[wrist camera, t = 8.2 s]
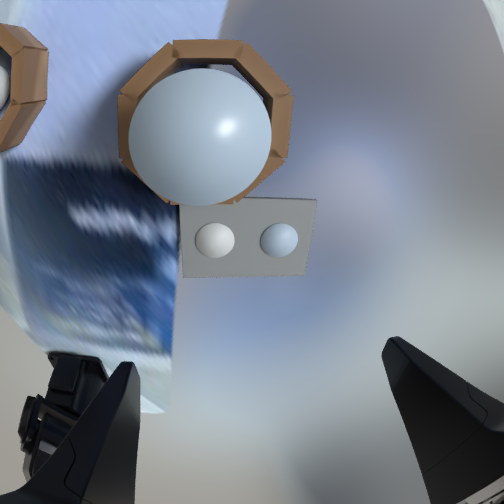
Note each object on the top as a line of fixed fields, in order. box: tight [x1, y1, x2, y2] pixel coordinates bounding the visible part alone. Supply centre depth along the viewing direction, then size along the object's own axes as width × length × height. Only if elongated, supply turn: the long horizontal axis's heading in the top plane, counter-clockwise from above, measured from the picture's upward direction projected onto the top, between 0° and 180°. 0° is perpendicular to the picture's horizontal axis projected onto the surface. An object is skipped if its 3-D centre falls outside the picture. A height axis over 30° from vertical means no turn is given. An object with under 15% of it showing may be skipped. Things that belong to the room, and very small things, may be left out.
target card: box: [179, 197, 317, 278], centre depth 20 cm, size 6×9×1 cm, turn 86°
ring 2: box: [118, 39, 293, 205], centre depth 15 cm, size 9×9×3 cm
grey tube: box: [129, 68, 271, 206], centre depth 12 cm, size 4×4×9 cm
